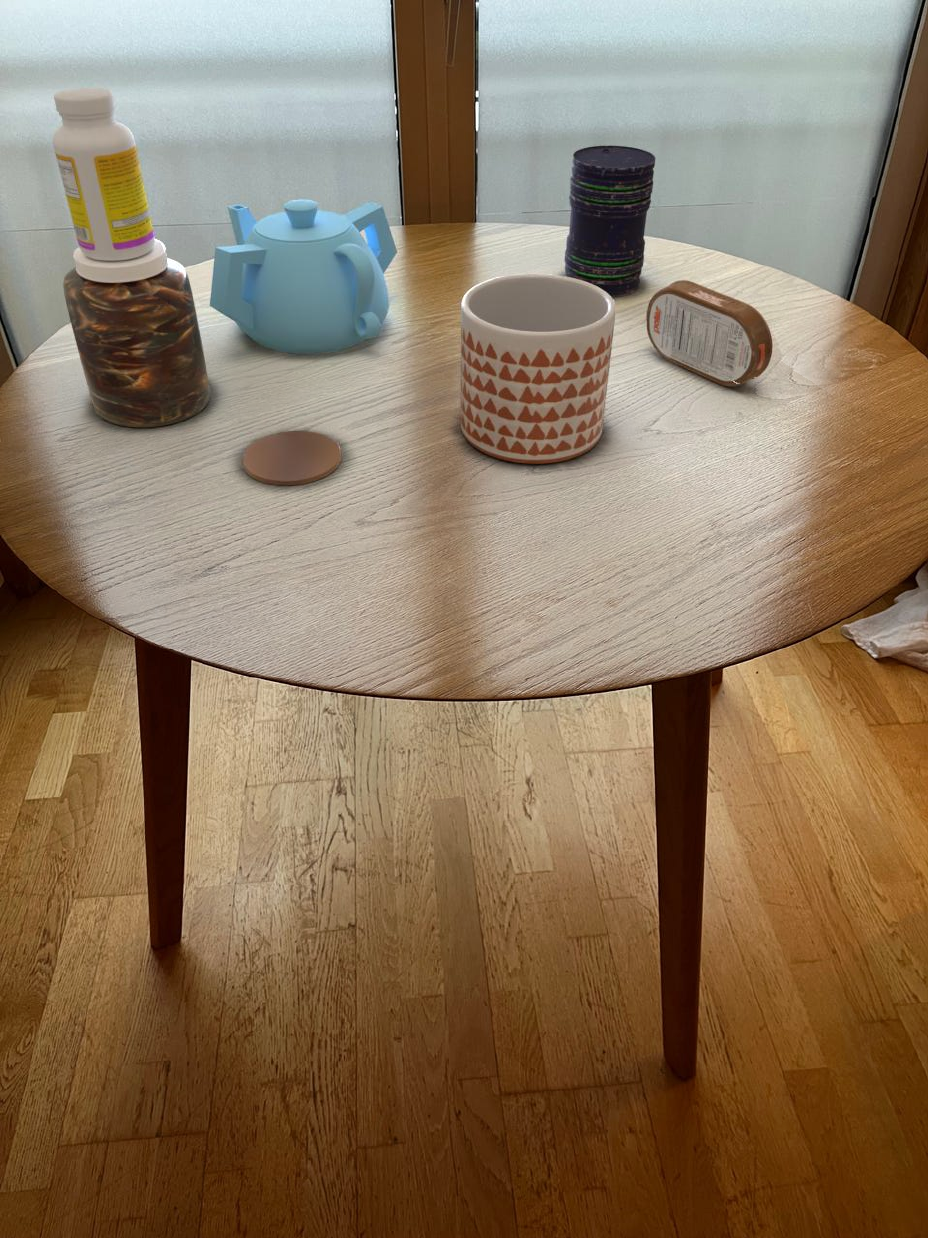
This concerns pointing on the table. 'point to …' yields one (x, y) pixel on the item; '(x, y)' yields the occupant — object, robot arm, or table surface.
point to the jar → (138, 338)
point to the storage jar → (609, 216)
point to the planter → (535, 366)
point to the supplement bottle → (101, 177)
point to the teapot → (305, 276)
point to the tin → (709, 333)
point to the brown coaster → (291, 458)
